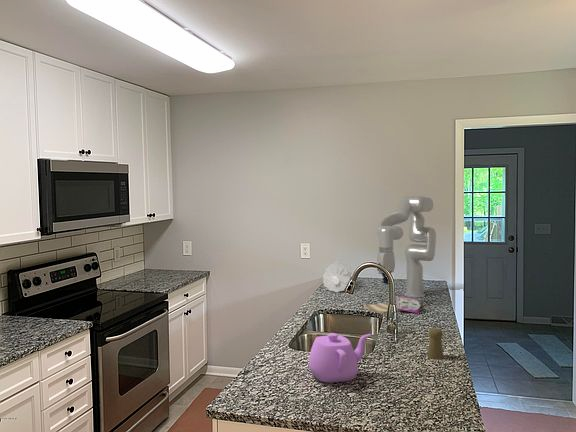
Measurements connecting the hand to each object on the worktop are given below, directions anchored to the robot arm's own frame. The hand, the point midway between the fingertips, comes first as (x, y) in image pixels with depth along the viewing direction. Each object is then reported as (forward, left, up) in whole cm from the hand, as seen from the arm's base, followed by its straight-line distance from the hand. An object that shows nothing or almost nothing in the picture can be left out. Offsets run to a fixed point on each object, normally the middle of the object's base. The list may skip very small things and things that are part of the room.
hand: (386, 283), depth 263 cm
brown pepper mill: (+40, +64, -14) cm, 77 cm away
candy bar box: (-14, +2, -11) cm, 18 cm away
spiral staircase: (-11, -54, -14) cm, 57 cm away
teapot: (+84, +55, -14) cm, 102 cm away
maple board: (+2, 0, -14) cm, 14 cm away
